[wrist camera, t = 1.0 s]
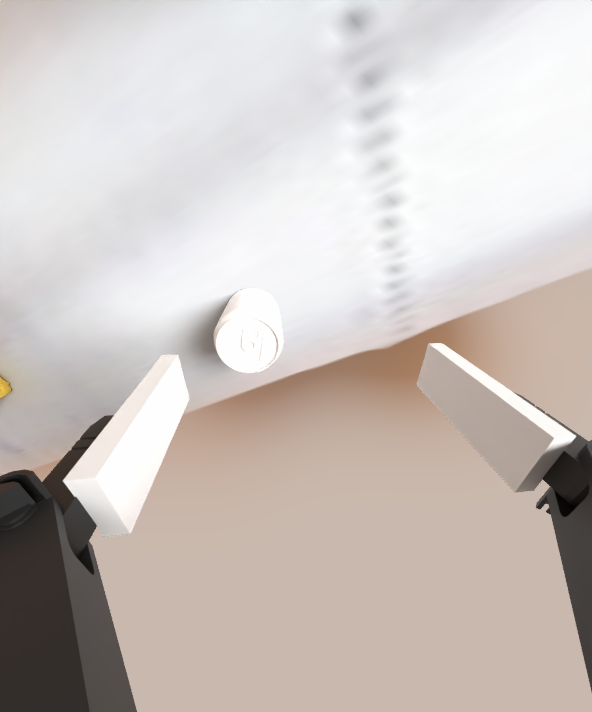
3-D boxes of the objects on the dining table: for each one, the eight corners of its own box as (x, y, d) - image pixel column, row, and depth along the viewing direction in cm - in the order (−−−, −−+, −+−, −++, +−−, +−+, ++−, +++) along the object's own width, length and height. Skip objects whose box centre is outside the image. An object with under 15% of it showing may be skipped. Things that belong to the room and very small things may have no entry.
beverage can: (222, 330, 39) (206, 369, 28) (232, 280, 35) (217, 303, 25) (272, 341, 41) (273, 382, 30) (285, 295, 37) (292, 322, 27)
